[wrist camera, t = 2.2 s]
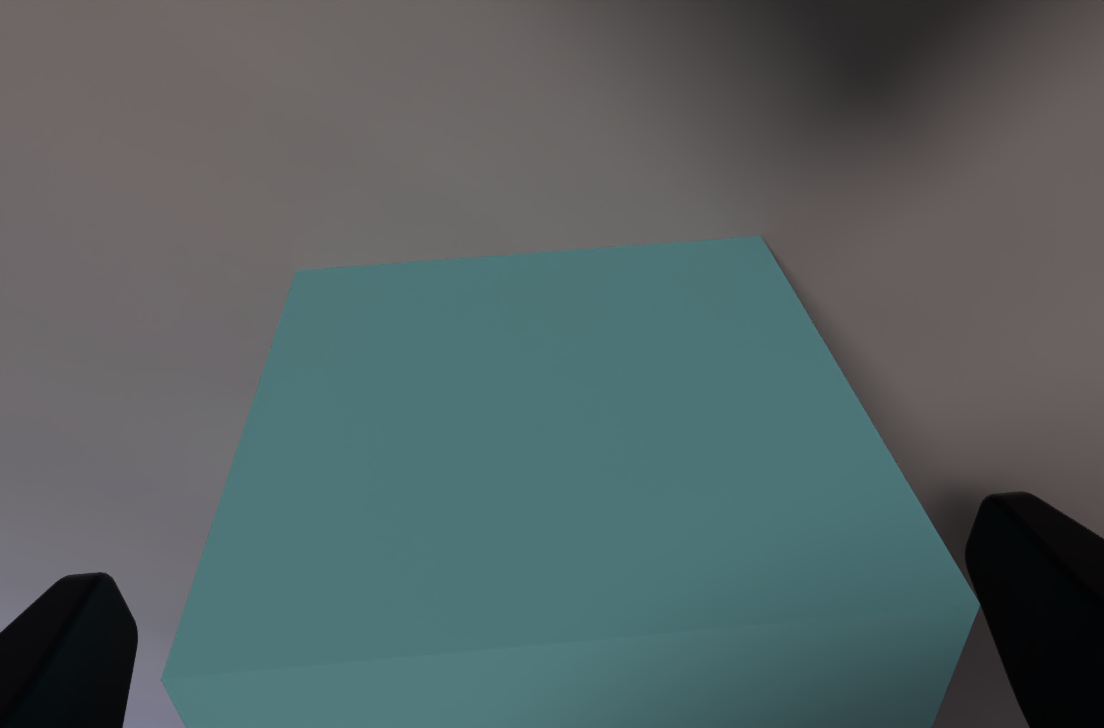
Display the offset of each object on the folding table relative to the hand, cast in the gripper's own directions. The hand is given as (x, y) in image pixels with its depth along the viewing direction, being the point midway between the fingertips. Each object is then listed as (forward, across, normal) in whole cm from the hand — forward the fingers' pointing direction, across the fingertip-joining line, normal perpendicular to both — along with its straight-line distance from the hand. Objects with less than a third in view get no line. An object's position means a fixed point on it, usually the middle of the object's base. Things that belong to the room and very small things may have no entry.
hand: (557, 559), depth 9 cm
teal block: (+2, 0, 0) cm, 2 cm away
